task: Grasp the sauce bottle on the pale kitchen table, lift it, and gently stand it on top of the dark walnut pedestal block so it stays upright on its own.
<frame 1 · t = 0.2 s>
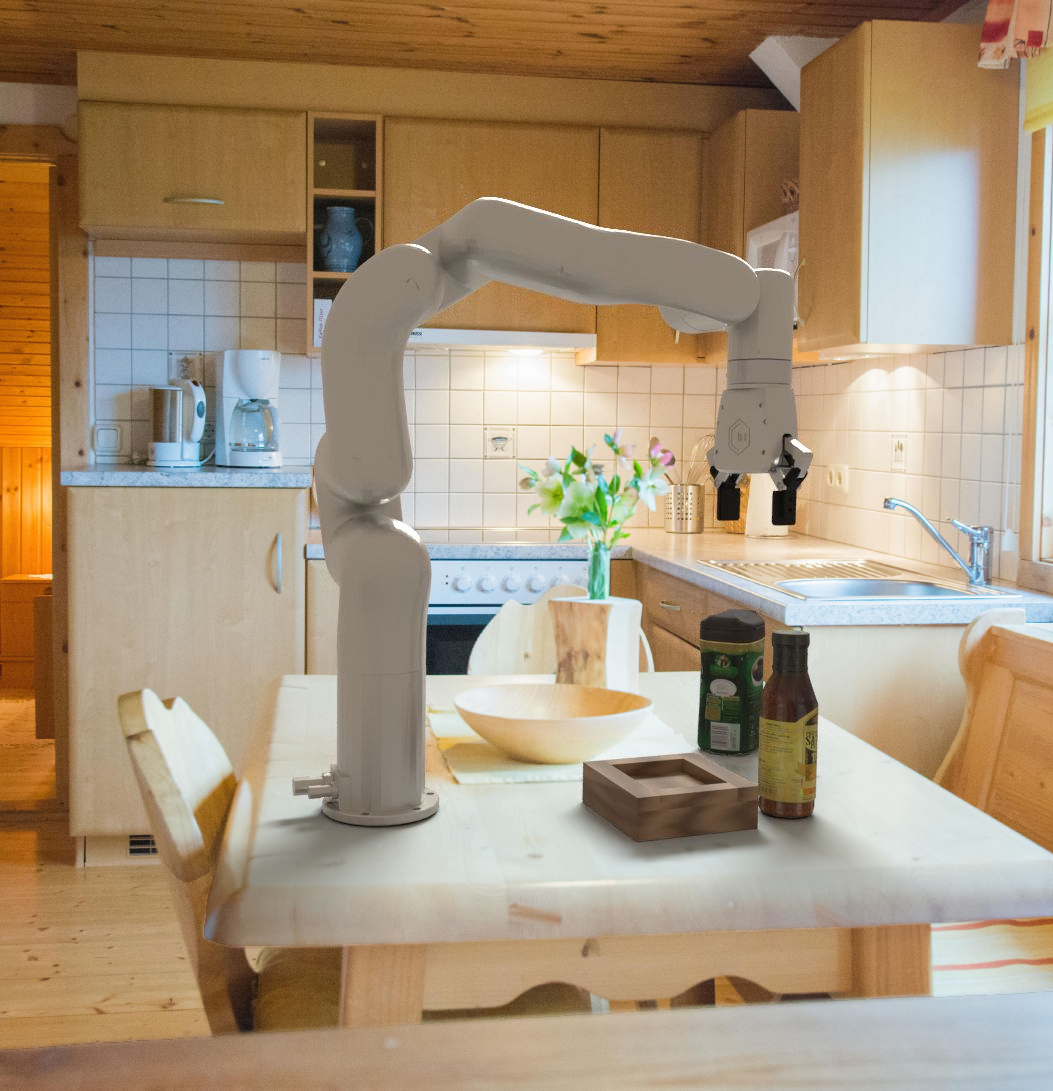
hand: (755, 522, 135), 31 cm above the table, fingers open, 9 cm apart
coffee jar: (729, 749, 152), on the table
walnut block: (667, 814, 123), on the table
sauce bottle: (785, 813, 125), on the table
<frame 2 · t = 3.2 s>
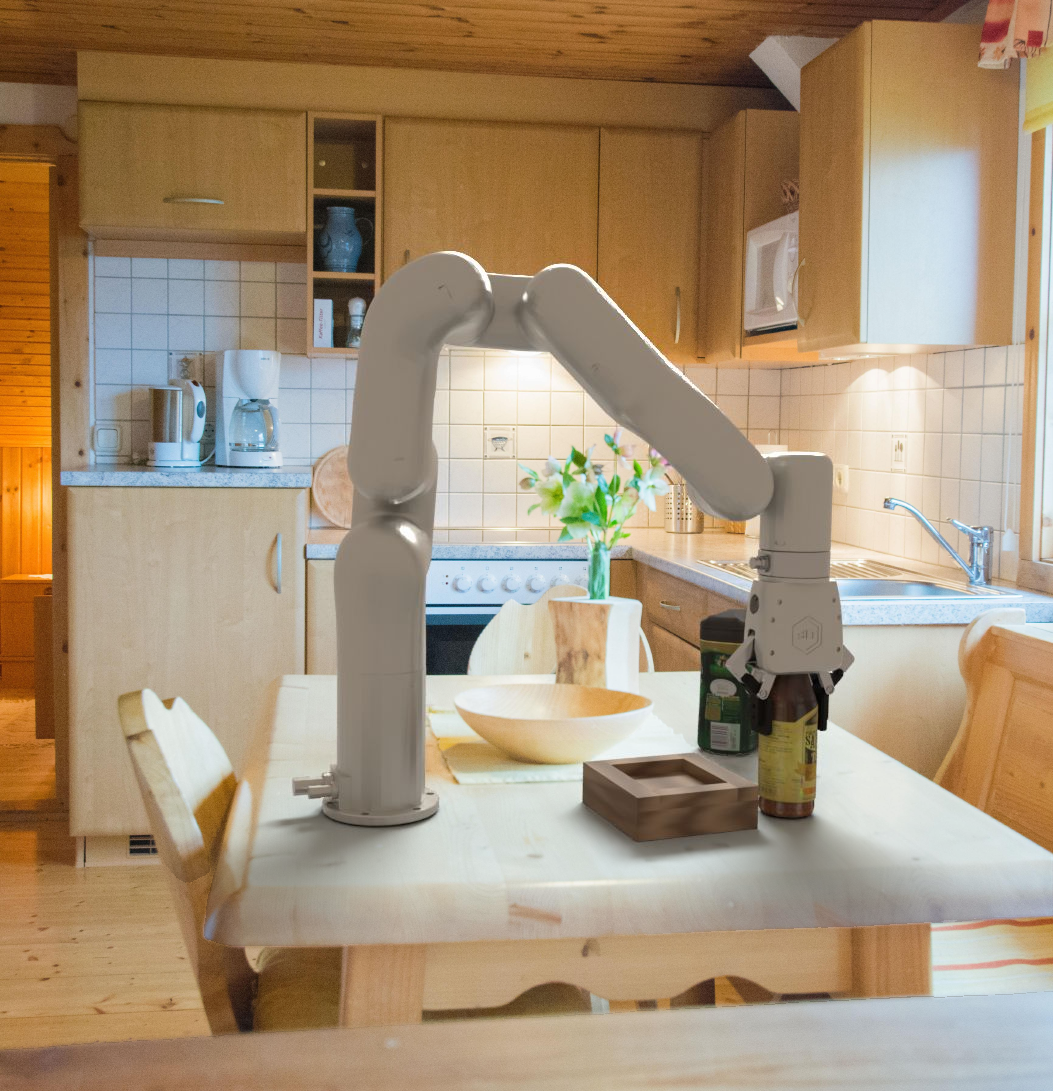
hand: (788, 729, 124), 9 cm above the table, fingers closed on sauce bottle, 6 cm apart
sauce bottle: (785, 812, 125), on the table, touching gripper
everything else where it was.
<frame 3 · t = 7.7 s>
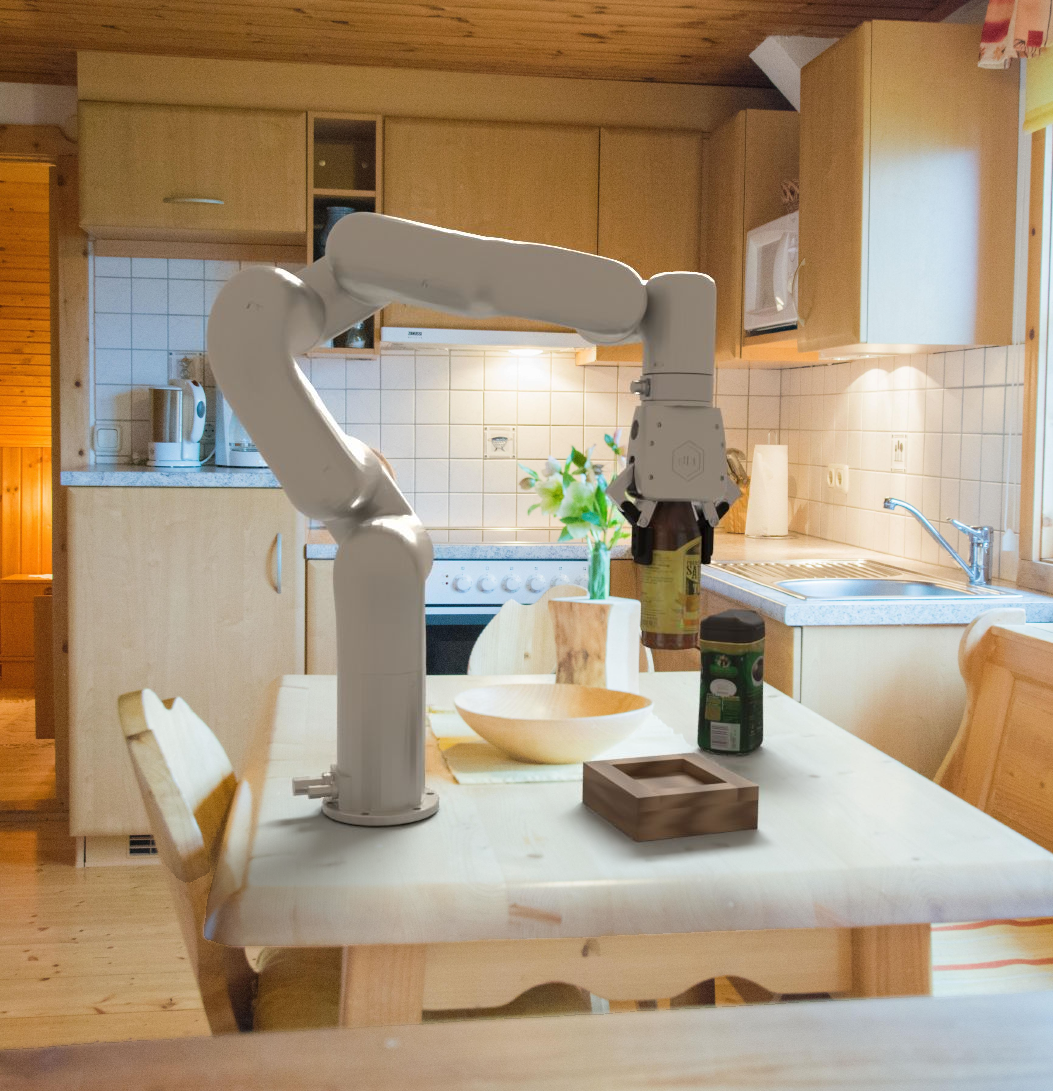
hand: (672, 562, 121), 27 cm above the table, fingers closed on sauce bottle, 6 cm apart
sauce bottle: (669, 649, 122), point 18 cm above the table, touching gripper
everything else where it was.
when the fingers open (12 cm above the table, at t = 12.1 s): sauce bottle stays where it is, resting on walnut block.
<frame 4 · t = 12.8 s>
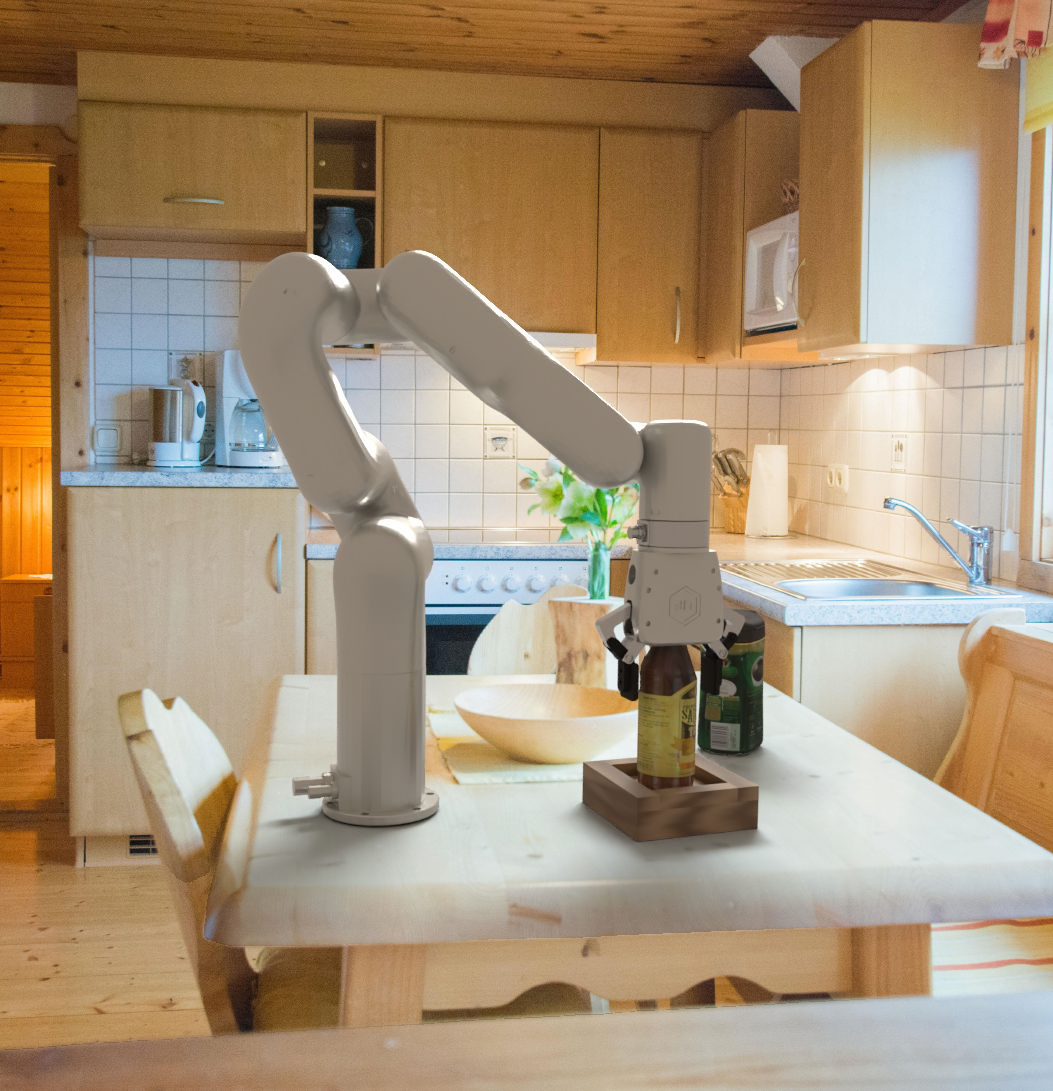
hand: (669, 695, 122), 13 cm above the table, fingers open, 9 cm apart
sauce bottle: (665, 788, 123), point 3 cm above the table, touching walnut block
everything else where it was.
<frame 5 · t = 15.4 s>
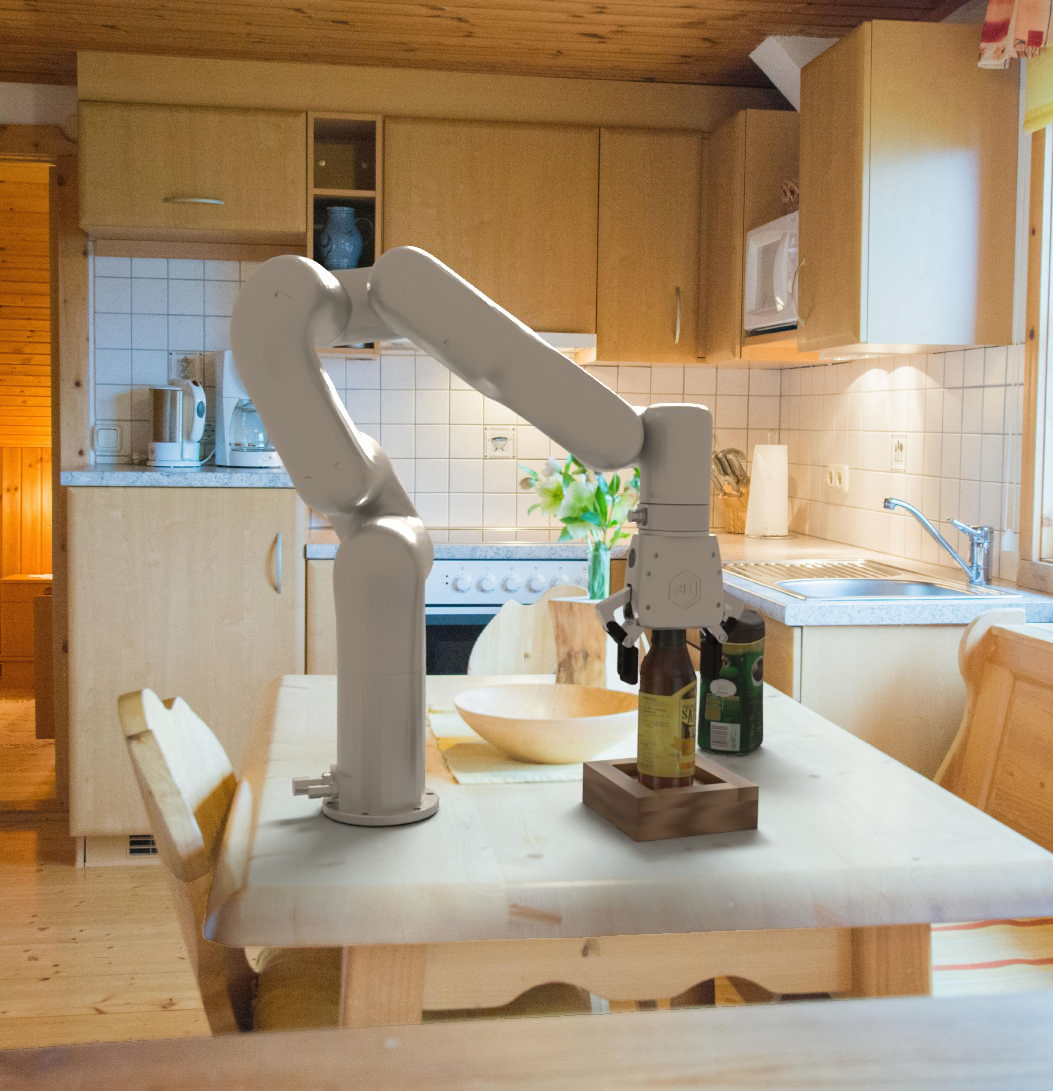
hand: (669, 680, 122), 15 cm above the table, fingers open, 9 cm apart
nothing on the table moved.
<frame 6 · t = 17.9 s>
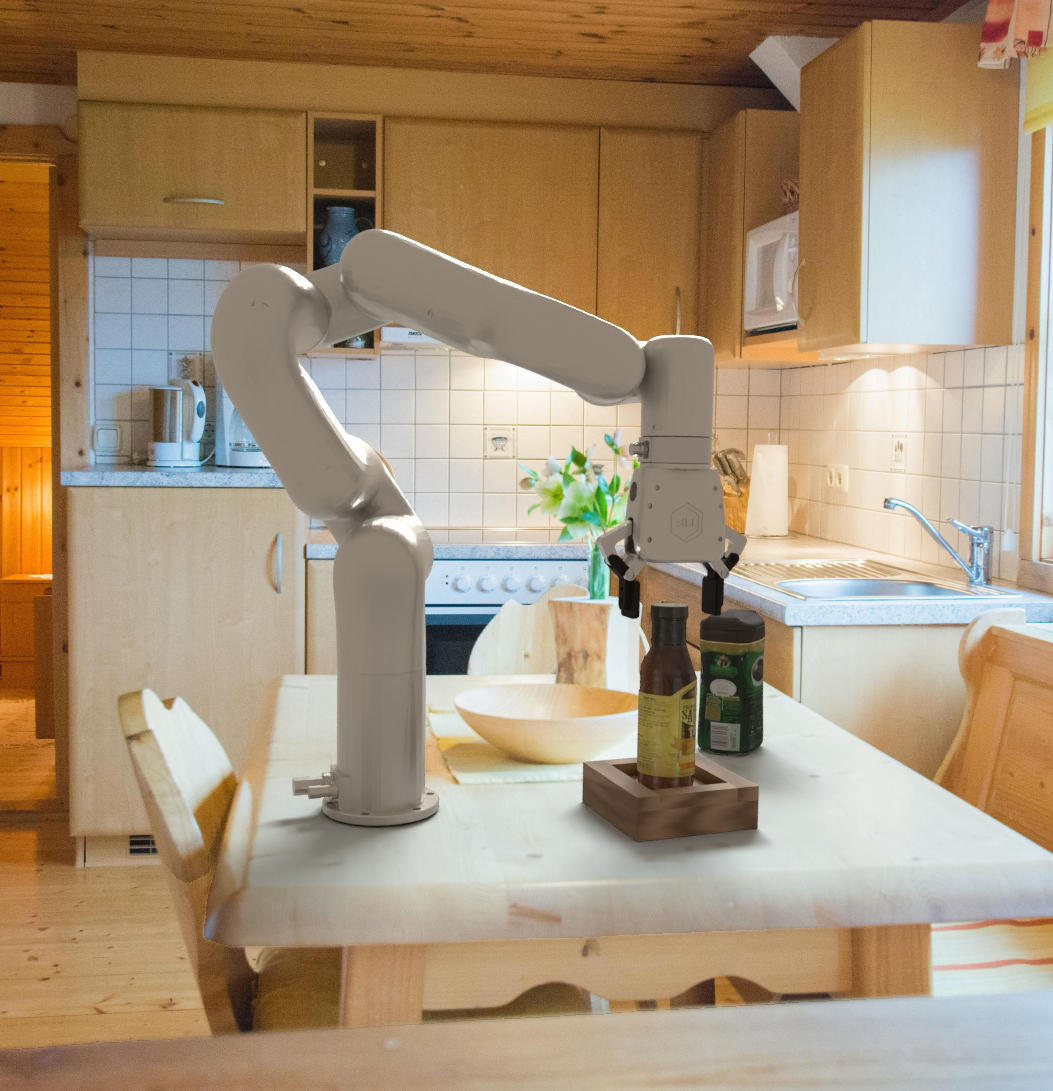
hand: (671, 615, 121), 22 cm above the table, fingers open, 9 cm apart
nothing on the table moved.
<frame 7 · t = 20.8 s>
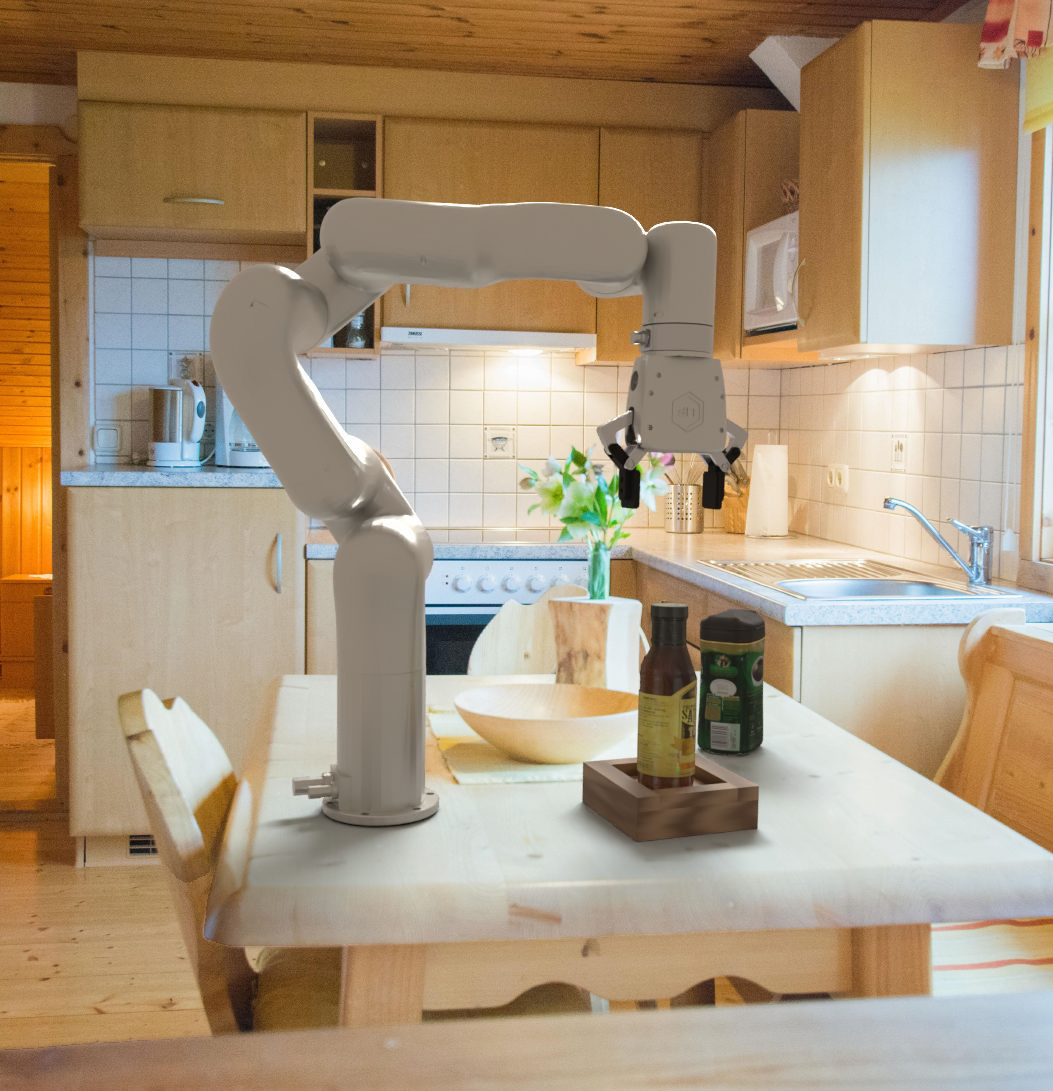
hand: (671, 508, 120), 33 cm above the table, fingers open, 9 cm apart
nothing on the table moved.
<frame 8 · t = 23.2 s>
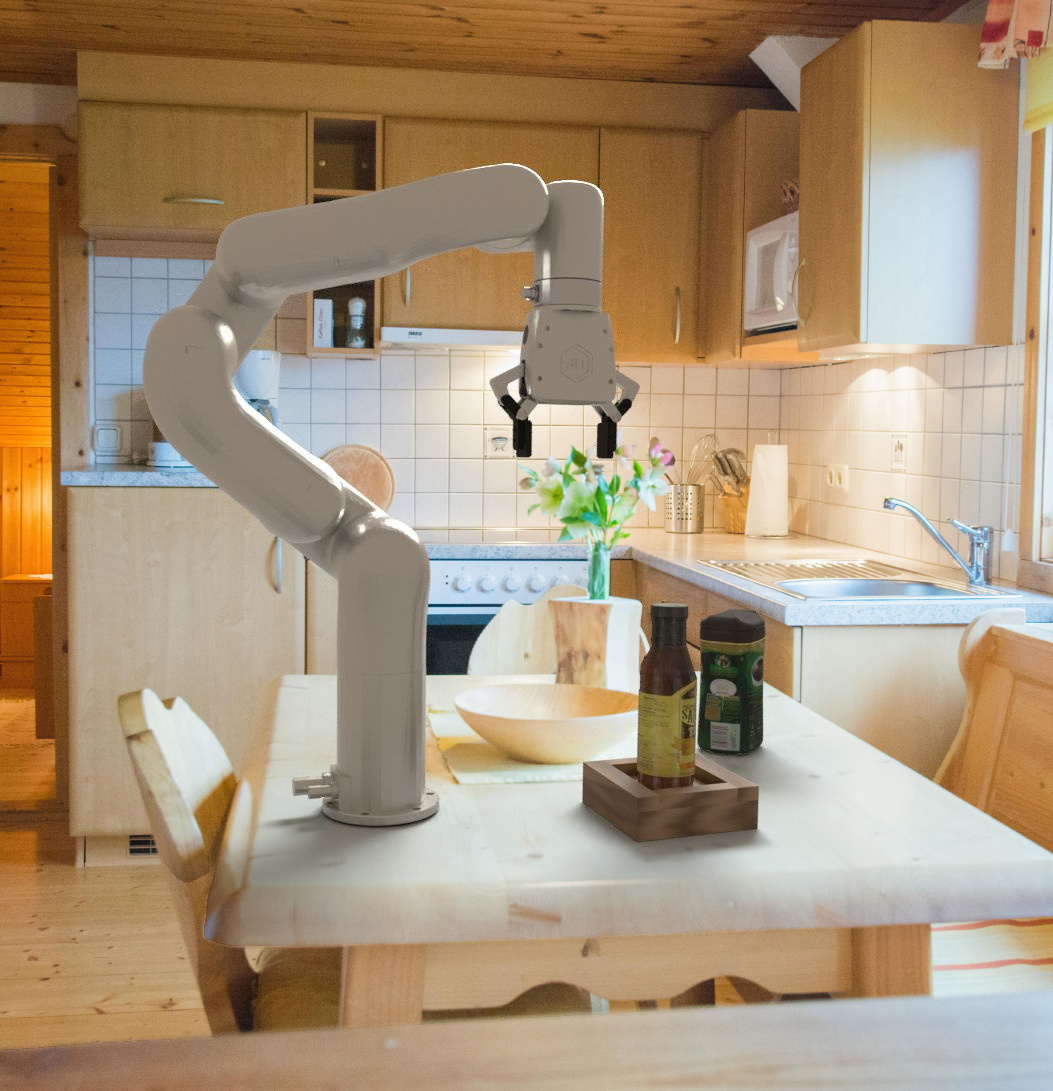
hand: (564, 457, 125), 38 cm above the table, fingers open, 9 cm apart
nothing on the table moved.
at the end: sauce bottle inside the target area on the walnut block (0.2 cm from its centre), point 2.8 cm above the walnut block's base; sauce bottle tilted 0°; the gripper is holding nothing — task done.
